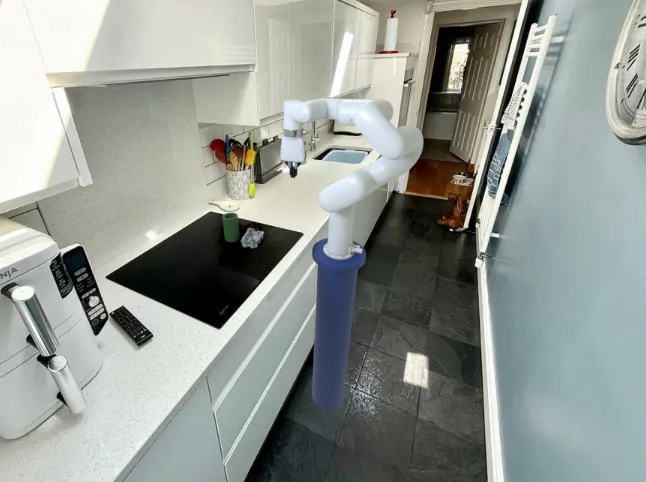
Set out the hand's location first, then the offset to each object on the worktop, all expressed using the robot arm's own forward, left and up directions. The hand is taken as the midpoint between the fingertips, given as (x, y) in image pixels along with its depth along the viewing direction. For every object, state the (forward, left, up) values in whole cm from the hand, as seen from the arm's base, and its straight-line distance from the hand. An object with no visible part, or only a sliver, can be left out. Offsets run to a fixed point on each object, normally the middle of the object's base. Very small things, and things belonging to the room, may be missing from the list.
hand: (293, 176), depth 129 cm
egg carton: (+13, +16, -25) cm, 33 cm away
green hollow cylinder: (+23, +16, -25) cm, 38 cm away
